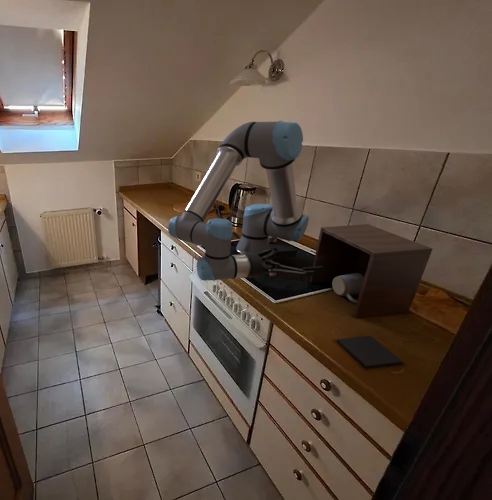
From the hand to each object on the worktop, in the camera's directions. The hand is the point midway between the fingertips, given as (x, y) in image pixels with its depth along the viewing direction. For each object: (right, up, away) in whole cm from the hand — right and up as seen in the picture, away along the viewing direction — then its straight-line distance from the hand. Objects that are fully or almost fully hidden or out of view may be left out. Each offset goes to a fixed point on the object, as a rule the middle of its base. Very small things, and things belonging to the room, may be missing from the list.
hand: (308, 261), depth 97 cm
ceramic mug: (+19, -13, +8) cm, 24 cm away
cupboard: (+20, -13, +8) cm, 25 cm away
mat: (+6, -24, -18) cm, 30 cm away
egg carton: (+12, +9, +60) cm, 62 cm away
